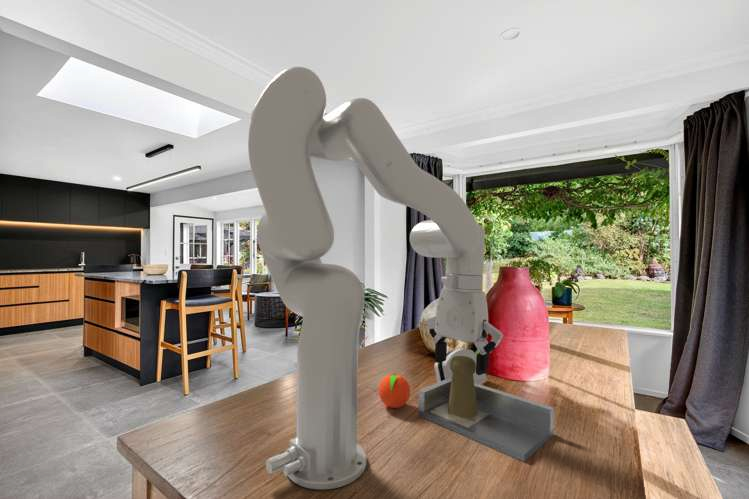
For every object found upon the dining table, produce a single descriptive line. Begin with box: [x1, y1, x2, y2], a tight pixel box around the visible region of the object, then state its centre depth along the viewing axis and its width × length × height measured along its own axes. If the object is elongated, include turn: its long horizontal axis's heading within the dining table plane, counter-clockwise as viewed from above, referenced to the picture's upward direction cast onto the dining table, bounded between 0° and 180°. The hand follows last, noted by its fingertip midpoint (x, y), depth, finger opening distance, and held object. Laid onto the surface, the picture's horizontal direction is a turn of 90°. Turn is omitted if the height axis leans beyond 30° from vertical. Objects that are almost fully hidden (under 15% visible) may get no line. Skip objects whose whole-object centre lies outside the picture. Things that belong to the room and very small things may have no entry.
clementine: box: [378, 373, 411, 409], centre depth 77 cm, size 8×7×7 cm
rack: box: [417, 377, 555, 463], centre depth 70 cm, size 13×22×5 cm, turn 44°
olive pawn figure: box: [448, 356, 478, 417], centre depth 73 cm, size 6×6×11 cm
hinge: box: [433, 348, 488, 385], centre depth 90 cm, size 17×5×10 cm, turn 139°
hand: (460, 367), depth 73 cm, fingers open, 9 cm apart
